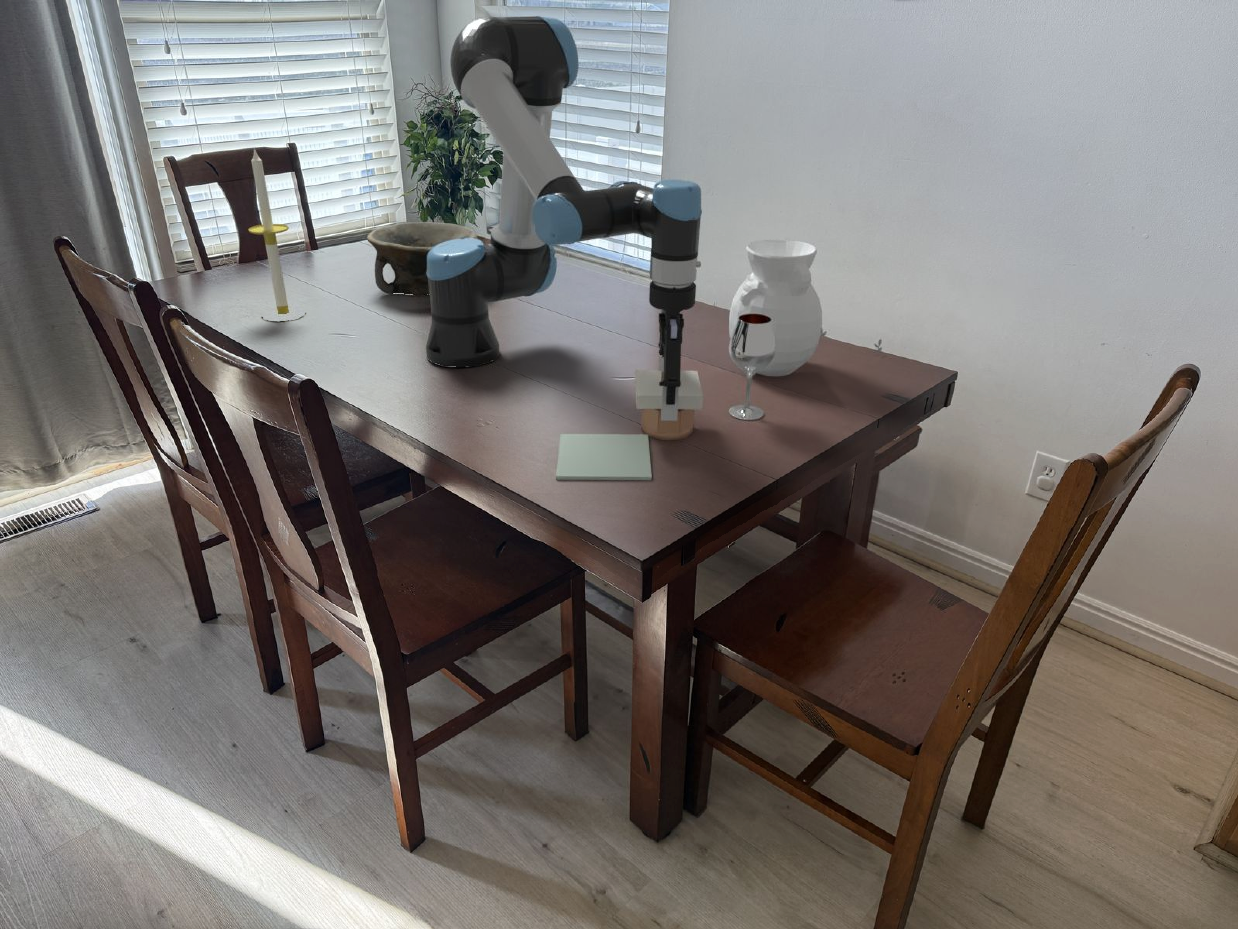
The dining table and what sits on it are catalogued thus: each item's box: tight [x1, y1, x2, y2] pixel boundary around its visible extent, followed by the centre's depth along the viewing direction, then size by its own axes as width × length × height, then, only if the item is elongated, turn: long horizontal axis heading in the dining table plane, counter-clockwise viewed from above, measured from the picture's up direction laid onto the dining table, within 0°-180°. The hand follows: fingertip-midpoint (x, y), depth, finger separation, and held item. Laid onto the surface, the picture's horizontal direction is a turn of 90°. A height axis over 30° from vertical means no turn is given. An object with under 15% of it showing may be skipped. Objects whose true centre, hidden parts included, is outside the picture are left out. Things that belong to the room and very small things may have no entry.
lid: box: [634, 369, 704, 410], centre depth 148 cm, size 11×11×4 cm
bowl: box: [366, 221, 478, 296], centre depth 219 cm, size 27×26×15 cm
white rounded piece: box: [728, 239, 823, 377], centre depth 172 cm, size 19×18×25 cm
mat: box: [555, 433, 652, 481], centre depth 142 cm, size 15×15×1 cm
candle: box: [248, 147, 290, 314], centre depth 194 cm, size 10×10×38 cm
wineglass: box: [728, 314, 776, 421], centre depth 154 cm, size 8×8×18 cm
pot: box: [640, 409, 696, 441], centre depth 150 cm, size 9×9×6 cm
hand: (666, 405), depth 150 cm, fingers closed on lid, 11 cm apart
